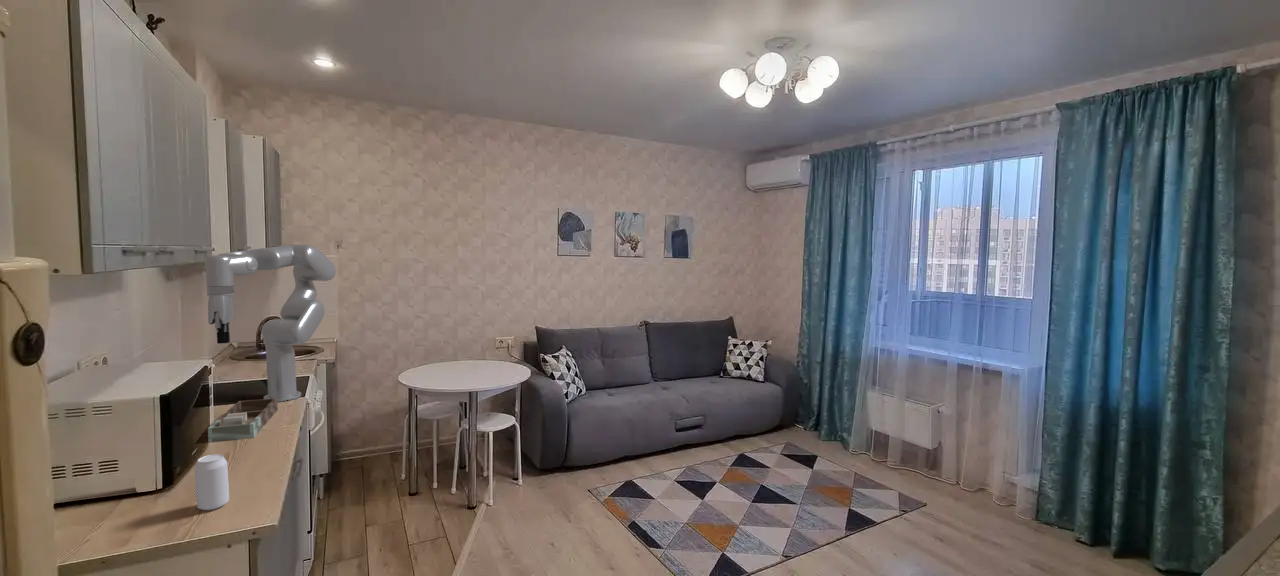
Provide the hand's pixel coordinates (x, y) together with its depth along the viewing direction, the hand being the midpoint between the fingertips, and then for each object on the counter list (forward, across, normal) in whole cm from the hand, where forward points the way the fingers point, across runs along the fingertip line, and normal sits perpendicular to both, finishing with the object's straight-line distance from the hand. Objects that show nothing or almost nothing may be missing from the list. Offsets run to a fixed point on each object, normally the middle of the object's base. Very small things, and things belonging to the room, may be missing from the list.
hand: (223, 342), depth 192 cm
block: (+25, +20, +8) cm, 33 cm away
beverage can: (+27, +74, +18) cm, 81 cm away
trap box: (+27, +10, +8) cm, 30 cm away
